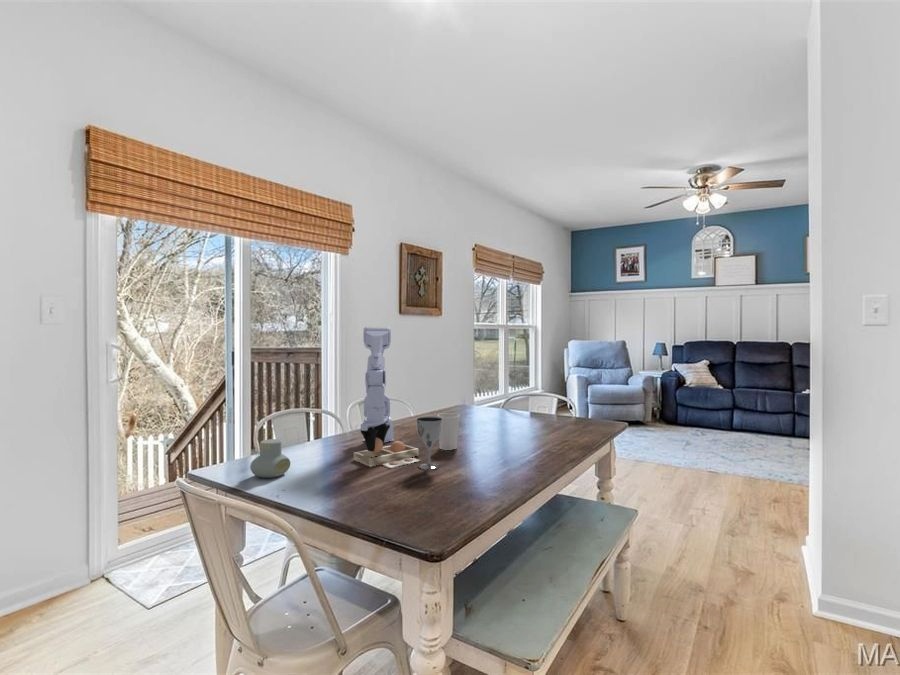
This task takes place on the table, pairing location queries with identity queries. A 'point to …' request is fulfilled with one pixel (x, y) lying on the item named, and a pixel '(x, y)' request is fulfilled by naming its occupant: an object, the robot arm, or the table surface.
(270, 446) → the air freshener
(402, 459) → the rack
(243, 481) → the table surface
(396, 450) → the ball
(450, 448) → the cup
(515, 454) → the table surface
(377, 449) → the loose ball
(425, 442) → the wine glass
